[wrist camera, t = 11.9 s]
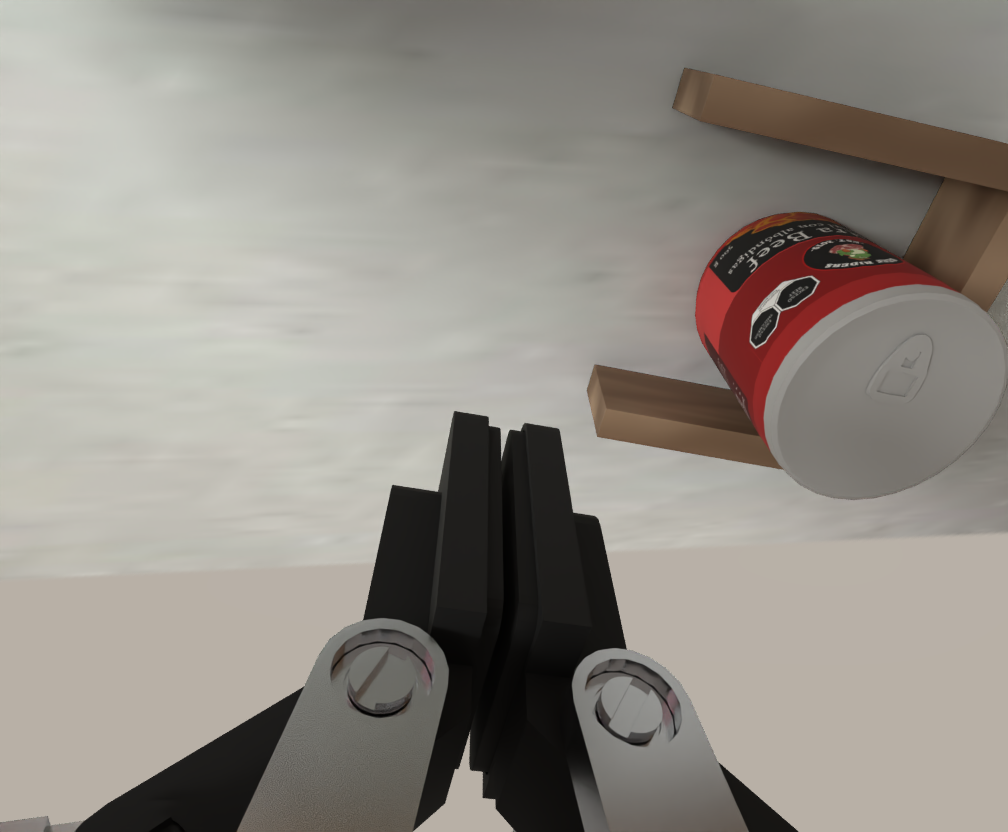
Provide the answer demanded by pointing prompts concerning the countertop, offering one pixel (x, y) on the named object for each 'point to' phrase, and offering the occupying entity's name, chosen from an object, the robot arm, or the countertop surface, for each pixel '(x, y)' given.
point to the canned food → (848, 355)
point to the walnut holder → (935, 249)
